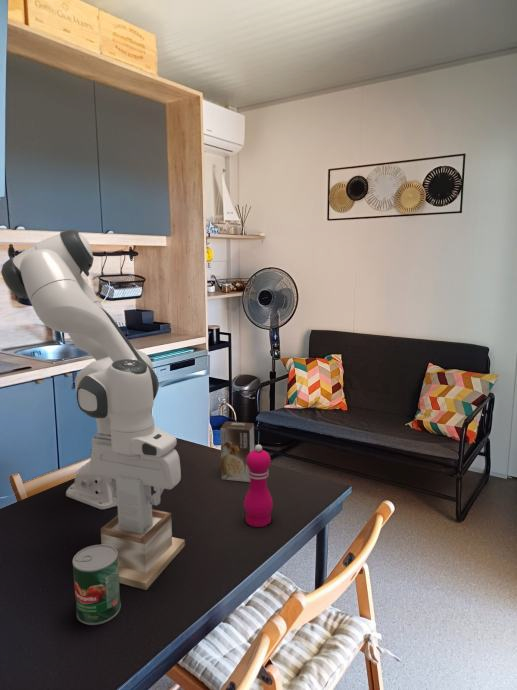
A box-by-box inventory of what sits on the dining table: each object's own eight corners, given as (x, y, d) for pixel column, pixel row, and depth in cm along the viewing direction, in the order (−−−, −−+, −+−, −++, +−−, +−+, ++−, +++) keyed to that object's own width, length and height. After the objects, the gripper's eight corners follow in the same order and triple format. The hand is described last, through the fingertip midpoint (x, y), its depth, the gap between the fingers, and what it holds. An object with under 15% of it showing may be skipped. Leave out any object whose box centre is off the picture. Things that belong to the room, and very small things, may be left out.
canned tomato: (123, 593, 97) (120, 542, 95) (117, 623, 89) (114, 568, 87) (81, 597, 96) (78, 545, 94) (71, 627, 88) (67, 571, 86)
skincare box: (153, 525, 106) (151, 473, 104) (142, 535, 103) (139, 481, 100) (129, 519, 109) (127, 468, 106) (117, 529, 105) (114, 477, 102)
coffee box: (255, 473, 150) (255, 422, 147) (250, 482, 143) (250, 430, 140) (226, 470, 152) (226, 420, 149) (220, 479, 146) (219, 427, 143)
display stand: (87, 574, 103) (85, 533, 101) (132, 533, 117) (130, 497, 116) (146, 590, 98) (144, 547, 96) (184, 545, 113) (183, 508, 111)
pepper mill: (269, 529, 119) (270, 451, 116) (240, 526, 121) (240, 449, 117) (274, 514, 126) (275, 440, 123) (247, 511, 128) (247, 438, 124)
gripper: (81, 437, 103) (85, 498, 106) (168, 450, 96) (170, 515, 99) (101, 427, 109) (104, 485, 111) (183, 439, 102) (185, 501, 105)
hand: (136, 499), depth 105 cm, fingers open, 8 cm apart
